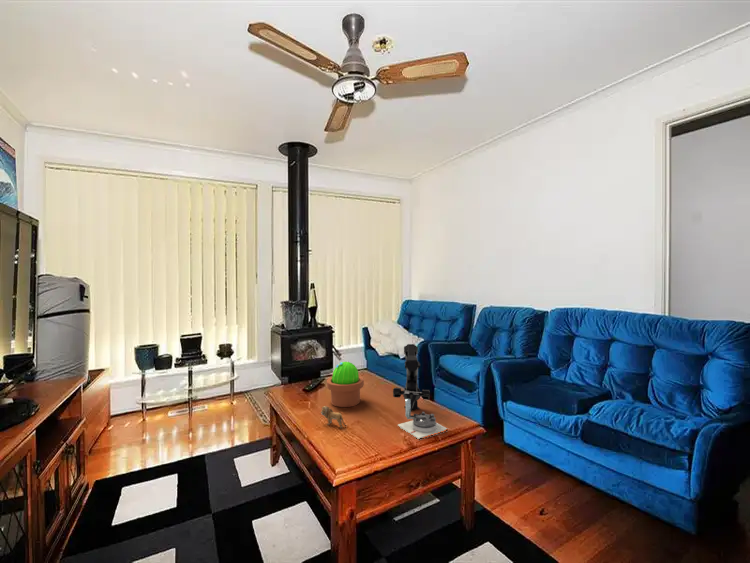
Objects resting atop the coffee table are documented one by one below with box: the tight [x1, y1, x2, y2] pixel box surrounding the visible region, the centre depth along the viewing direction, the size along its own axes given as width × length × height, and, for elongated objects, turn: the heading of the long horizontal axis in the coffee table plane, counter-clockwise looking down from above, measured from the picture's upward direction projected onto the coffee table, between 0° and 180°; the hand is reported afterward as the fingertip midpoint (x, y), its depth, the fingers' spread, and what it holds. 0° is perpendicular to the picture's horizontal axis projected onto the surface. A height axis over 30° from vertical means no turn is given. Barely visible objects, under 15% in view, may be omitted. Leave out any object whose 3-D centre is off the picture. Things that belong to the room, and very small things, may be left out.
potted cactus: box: [326, 361, 365, 408], centre depth 212 cm, size 22×22×25 cm
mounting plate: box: [397, 419, 448, 440], centre depth 175 cm, size 17×18×3 cm
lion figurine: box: [320, 405, 348, 429], centre depth 181 cm, size 15×5×9 cm, turn 68°
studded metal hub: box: [404, 398, 437, 428], centre depth 174 cm, size 15×11×12 cm
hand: (410, 409), depth 175 cm, fingers closed
